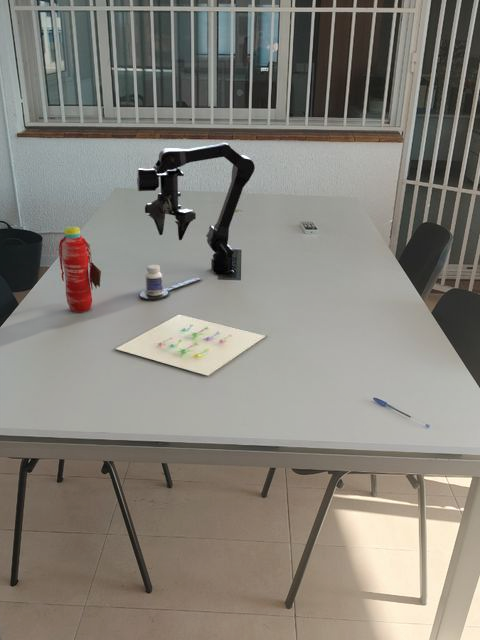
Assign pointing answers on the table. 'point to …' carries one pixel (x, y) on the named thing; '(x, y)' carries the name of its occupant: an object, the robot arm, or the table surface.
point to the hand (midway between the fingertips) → (170, 237)
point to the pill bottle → (154, 280)
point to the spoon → (167, 290)
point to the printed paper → (191, 344)
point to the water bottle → (77, 270)
